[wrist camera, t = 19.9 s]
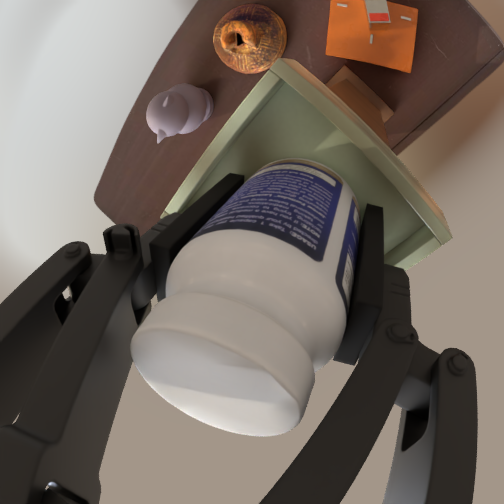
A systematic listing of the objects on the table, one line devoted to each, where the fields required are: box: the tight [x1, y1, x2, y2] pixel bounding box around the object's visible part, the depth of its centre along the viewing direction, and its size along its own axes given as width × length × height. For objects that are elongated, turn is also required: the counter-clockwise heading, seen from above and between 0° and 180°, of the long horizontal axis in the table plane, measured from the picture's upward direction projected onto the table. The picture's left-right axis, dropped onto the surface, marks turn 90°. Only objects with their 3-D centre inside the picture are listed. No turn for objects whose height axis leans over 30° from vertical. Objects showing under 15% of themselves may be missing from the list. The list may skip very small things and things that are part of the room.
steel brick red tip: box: [363, 0, 391, 31], centre depth 28 cm, size 6×2×8 cm, turn 10°
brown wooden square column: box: [161, 58, 452, 271], centre depth 29 cm, size 10×10×38 cm
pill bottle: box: [130, 158, 361, 436], centre depth 11 cm, size 6×6×10 cm
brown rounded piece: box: [213, 4, 287, 74], centre depth 39 cm, size 12×12×7 cm
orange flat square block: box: [326, 0, 418, 73], centre depth 33 cm, size 12×13×3 cm
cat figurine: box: [146, 84, 214, 144], centre depth 46 cm, size 8×8×12 cm
